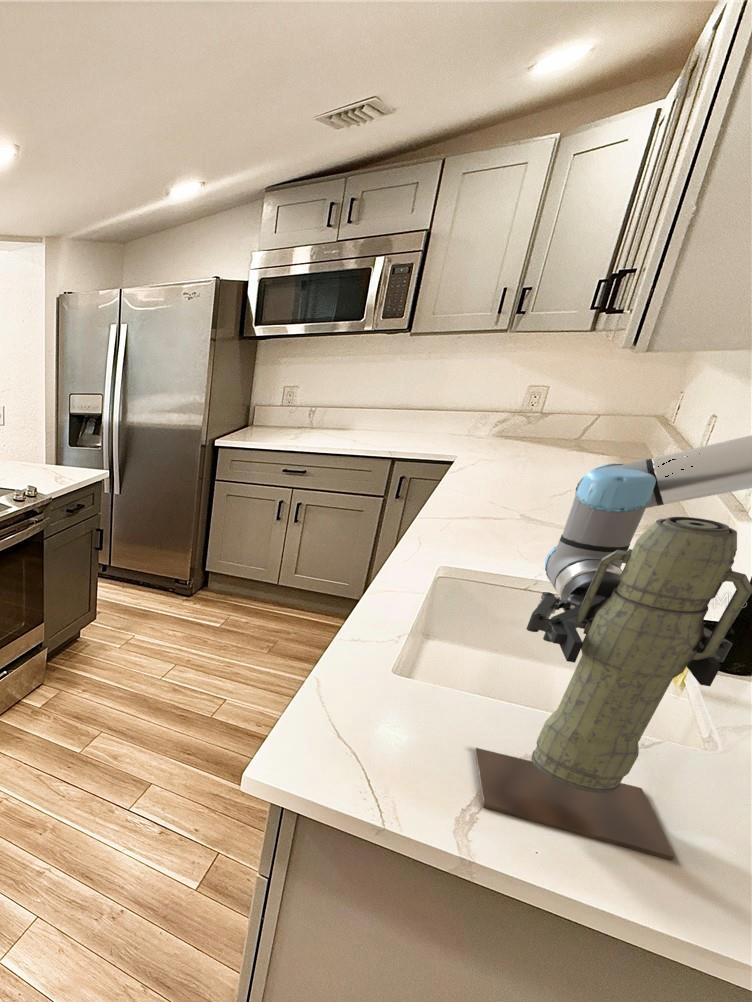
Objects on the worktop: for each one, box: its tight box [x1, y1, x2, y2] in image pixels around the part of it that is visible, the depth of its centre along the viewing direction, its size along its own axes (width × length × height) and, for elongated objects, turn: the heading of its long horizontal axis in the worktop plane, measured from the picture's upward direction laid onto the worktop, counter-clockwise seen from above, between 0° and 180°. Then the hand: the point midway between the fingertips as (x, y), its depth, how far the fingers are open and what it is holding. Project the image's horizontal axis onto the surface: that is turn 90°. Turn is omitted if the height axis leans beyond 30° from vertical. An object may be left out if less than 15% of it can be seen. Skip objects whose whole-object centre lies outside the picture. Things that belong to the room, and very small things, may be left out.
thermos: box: [530, 516, 752, 793], centre depth 75 cm, size 9×12×35 cm
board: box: [474, 747, 675, 861], centre depth 84 cm, size 18×14×1 cm
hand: (640, 663), depth 71 cm, fingers closed on thermos, 10 cm apart
